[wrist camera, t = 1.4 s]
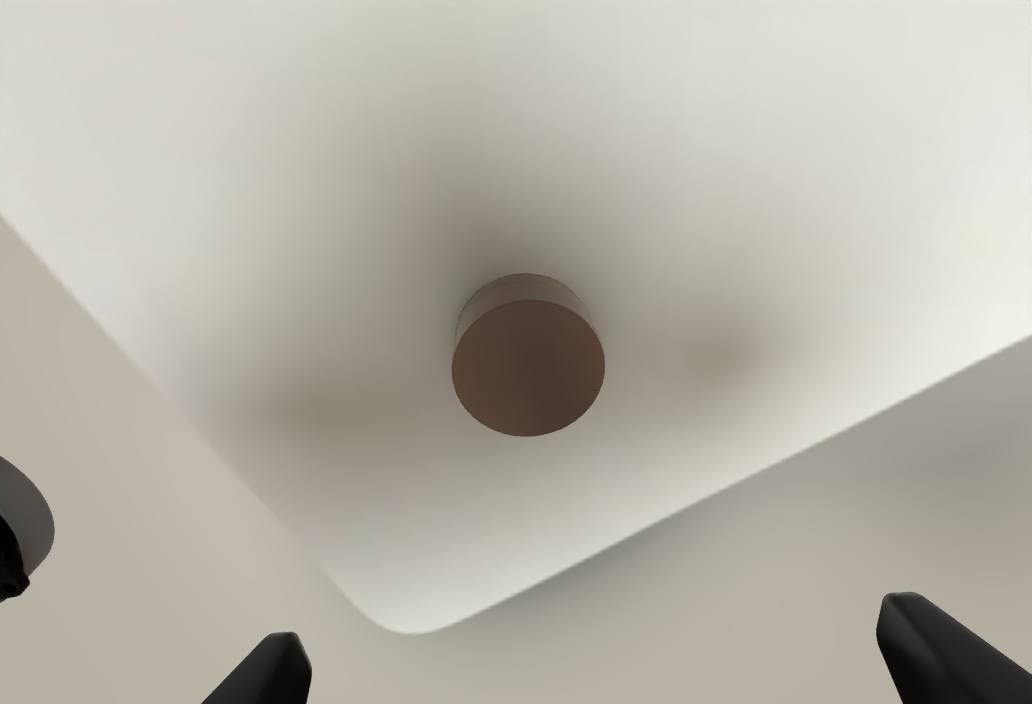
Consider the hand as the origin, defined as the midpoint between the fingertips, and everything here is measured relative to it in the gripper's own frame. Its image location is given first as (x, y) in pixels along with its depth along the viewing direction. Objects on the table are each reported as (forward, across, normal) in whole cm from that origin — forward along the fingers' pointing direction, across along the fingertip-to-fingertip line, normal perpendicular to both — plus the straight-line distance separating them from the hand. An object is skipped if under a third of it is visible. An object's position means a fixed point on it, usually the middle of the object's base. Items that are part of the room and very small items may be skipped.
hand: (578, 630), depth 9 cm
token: (+11, +1, 0) cm, 11 cm away
